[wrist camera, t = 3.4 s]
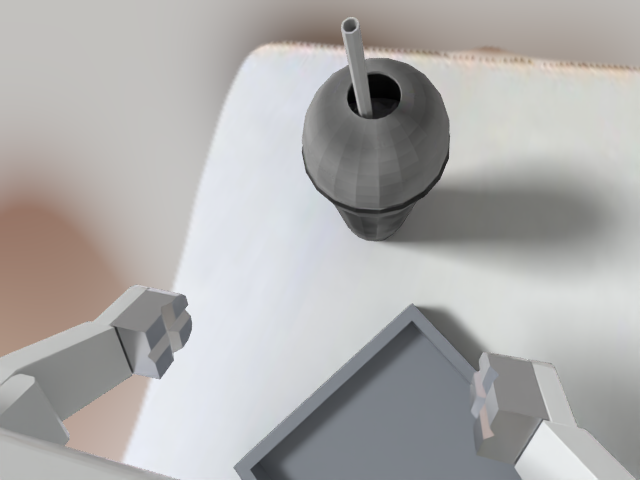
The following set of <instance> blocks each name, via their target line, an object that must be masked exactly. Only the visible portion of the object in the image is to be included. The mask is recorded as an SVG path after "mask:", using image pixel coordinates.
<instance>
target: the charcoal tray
mask: <svg viewBox="0 0 640 480" xmlns="http://www.w3.org/2000/svg"><path fill="white" fill-rule="evenodd" d="M476 372H477V371H476V370H475V369H474V368H473V367H472V366H471V365H470V364H469V363H468V362H467V360H466V359H465V358H464V357H463V356H462V355H461V354H460V353H459V352H458V351H457V350H456V349H455V348H454V347H453V346H452V345H451V344H450V343H449V341H448V340H447V339H446V338H445V337H444V336H443V335H442V334H441V333H440V332H439V331H438V330H437V329H436V328H435V327H434V326H433V325H432V324H431V322H430V321H429V320H428V319H427V318H426V317H425V316H424V315H423V314H422V313H421V312H420V311H419V310H418V309H417V308H416V307H415V306H414V305H413V303H412V304H411V305H409V306H408V307H407V308H406V309H405V310H403V311H402V312H401V313H400V314H399V315H398V316H397V317H396V318H395V319H394V320H393V321H391V322H390V323H389V324H388V325H387V326H386V327H385V328H384V329H383V330H382V331H381V332H379V333H378V334H377V335H376V336H375V337H374V338H373V339H372V340H371V341H370V342H369V343H367V344H366V345H365V346H364V347H363V348H362V349H361V350H360V351H359V352H358V353H357V354H355V355H354V356H353V357H352V358H351V359H350V360H349V361H348V362H347V363H346V364H345V365H343V366H342V367H341V368H340V369H339V370H338V371H337V372H336V373H335V374H334V375H333V376H331V377H330V378H329V379H328V380H327V381H326V382H325V383H324V384H323V385H322V386H320V387H319V388H318V389H317V390H316V391H315V392H314V393H313V394H312V395H311V396H310V397H308V398H307V399H306V400H305V401H304V402H303V403H302V404H301V405H300V406H299V407H298V408H296V409H295V410H294V411H293V412H292V413H291V414H290V415H289V416H288V417H287V418H286V419H284V420H283V421H282V422H281V423H280V424H279V425H278V426H277V427H276V428H275V429H274V430H272V431H271V432H270V433H269V434H268V435H267V436H266V437H265V438H264V439H263V440H262V441H260V442H259V443H258V444H257V445H256V446H255V447H254V448H253V449H252V450H251V451H249V452H248V453H247V454H246V455H245V456H244V457H243V458H242V459H241V460H240V461H239V462H238V463H237V464H236V465H235V466H234V469H235V470H236V472H237V473H238V475H239V476H240V478H241V479H242V480H522V478H521V477H520V475H519V474H518V472H517V471H516V469H515V468H514V467H515V465H511V464H507V463H503V462H500V461H496V460H492V459H488V458H485V457H481V456H477V455H476V450H475V442H474V435H473V426H474V424H475V421H476V418H475V416H474V415H473V414H472V412H471V411H470V402H469V392H470V385H471V380H472V378H473V375H474V373H476Z"/></svg>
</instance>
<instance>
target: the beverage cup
mask: <svg viewBox="0 0 640 480" xmlns="http://www.w3.org/2000/svg"><path fill="white" fill-rule="evenodd" d="M341 31H342V36H343V40H344V45H345V50H346V54H347V59H348V64H349V65H347V66H346V67H344V68H342V69H341V70H339V71H337V72H335V73H334V74H332V76H331V77H330V78H329V79H328V80H327V81H326V82H325V83H324V84H323V85H322V86H321V87H320V88H319V89H318V91H317V92H316V94H315V96H314V98H313V100H312V102H311V104H310V106H309V108H308V110H307V113H306V115H305V122H304V129H303V136H302V144H303V147H302V155H303V160H304V165H305V170H306V173H307V175H308V176H309V178H310V180H311V181H312V183H313V184H314V186H315V188H316V189H317V191H319V192H320V193H321V194H322V195H323V196H325V197H326V198H327V199H328V200H329V201H331V202H332V203H333V204H334V205H335V206H336V208H337V210H338V211H339V213H340V215H341V216H342V218H343V219H344V221H345V223H346V224H347V226H348V228H349V229H351V231H352V232H353V233H354V234H356V235H357V236H358V237H360V238H362V239H365V240H368V241H379V240H383V239H386V238H388V237H389V236H391V235H393V234H394V232H395V231H396V230H397V229H398V228H399V227H400V226H401V225H402V223H403V222H404V220H405V219H406V217H407V215H408V214H409V212H410V211H411V209H412V208H413V206H414V204H415V203H416V202H417V201H418V200H419V199H421V198H423V197H424V196H425V195H426V194H427V193H428V192H429V191H430V190H431V189H432V188H433V186H434V185H435V184H436V183H437V182H438V181H439V180H440V178H441V176H442V173H443V171H444V169H445V166H446V164H447V161H448V159H449V143H450V134H449V118H448V115H447V112H446V109H445V106H444V103H443V100H442V97H441V94H440V93H439V92H438V90H437V89H436V88H435V87H434V85H433V84H432V83H431V82H430V80H429V79H428V78H427V77H426V76H425V75H424V74H423V73H421V72H420V71H418V70H417V69H415V68H414V67H412V66H410V65H409V64H406V63H403V62H399V61H396V60H392V59H389V58H369V59H365V58H364V51H363V44H362V37H361V30H360V23H359V21H358V20H357V19H356V18H355V17H353V18H352V17H349V18H347V19H345V20H344V21H343V22H342V26H341Z"/></svg>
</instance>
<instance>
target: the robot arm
mask: <svg viewBox="0 0 640 480" xmlns="http://www.w3.org/2000/svg"><path fill="white" fill-rule="evenodd" d="M187 306H188V302H187V299H186V296H185V295H182V294H179V293H174V292H169V291H165V290H160V289H156V288H150V287H145V286H140V285H135V286H131V287H130V288H129V289H128V290H127V291H126V292H125V293H123V294H122V295H121V296H120V297H119V298H118V299H117V300H116V301H115V302H114V303H113V304H112V305H111V306H109V307H108V308H107V309H106V310H105V311H104V312H103V313H102V314H101V315H100V316H99V317H98V318H97V319H95V320H94V321H93V322H88V321H87V322H85V323H82V324H80V325H78V326H75V327H73V328H70V329H68V330H66V331H63V332H61V333H58V334H56V335H54V336H51V337H49V338H46V339H44V340H41V341H39V342H36V343H34V344H32V345H29V346H27V347H24V348H22V349H20V350H17V351H15V352H12V353H10V354H8V355H5V356H2V357H0V480H179V479H176V478H172V477H169V476H166V475H162V474H159V473H155V472H152V471H148V470H145V469H142V468H138V467H135V466H131V465H128V464H124V463H121V462H118V461H114V460H111V459H107V458H104V457H100V456H97V455H94V454H90V453H87V452H83V451H80V450H76V449H73V448H70V447H66V446H65V444H66V443H67V442H68V441H69V433H68V431H67V429H66V428H65V426H64V425H63V423H62V421H63V420H65V419H67V418H68V417H69V416H71V415H72V414H74V413H76V412H77V411H79V410H80V409H82V408H83V407H85V406H86V405H88V404H89V403H91V402H92V401H94V400H95V399H97V398H98V397H100V396H101V395H103V394H105V393H106V392H108V391H109V390H111V389H112V388H114V387H115V386H117V385H118V384H120V383H121V382H123V381H124V380H126V379H127V378H129V377H131V376H132V374H137V375H142V376H146V377H151V378H156V379H161V377H162V376H163V375H164V373H165V372H166V370H167V369H168V368H169V366H170V365H171V363H172V362H173V361H174V355H173V353H174V352H176V351H178V350H180V349H181V348H183V347H184V345H185V344H186V342H187V341H188V339H189V336H190V333H191V330H192V320H191V316H190V315H189V314H188V313H187V312H186V310H185V308H186V307H187ZM479 368H480V370H479V371H477V372H476V373H474V375H473V378H472V380H471V385H470V392H469V402H470V411H471V412H472V414H473V415H474V416H475V418H476V421H475V424H474V426H473V435H474V442H475V450H476V455H477V456H481V457H485V458H488V459H492V460H496V461H500V462H503V463H507V464H511V465H515V467H514V468H515V469H516V471H517V472H518V474H519V475H520V477H521V478H522V480H636V479H635V478H634V477H633V476H632V475H631V474H630V473H629V472H628V471H627V470H626V469H625V468H624V467H623V466H622V465H621V464H620V463H619V462H618V461H617V460H616V459H615V458H614V457H613V456H612V455H611V454H610V453H609V452H608V451H607V450H606V449H605V448H604V447H603V446H602V445H601V444H600V443H599V442H598V441H597V440H596V439H595V438H594V437H593V436H592V435H591V434H590V433H589V432H588V431H587V430H586V429H582V428H578V426H577V423H576V421H575V418H574V416H573V413H572V411H571V408H570V405H569V403H568V400H567V398H566V395H565V392H564V390H563V387H562V385H561V382H560V380H559V377H558V374H557V372H556V369H555V367H554V366H553V365H552V364H551V363H545V362H540V361H534V360H527V359H523V358H518V357H512V356H507V355H501V354H495V353H490V352H483V354H482V355H481V357H480V359H479Z"/></svg>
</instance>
